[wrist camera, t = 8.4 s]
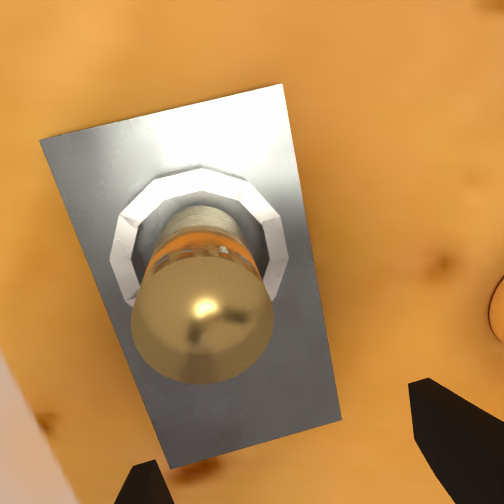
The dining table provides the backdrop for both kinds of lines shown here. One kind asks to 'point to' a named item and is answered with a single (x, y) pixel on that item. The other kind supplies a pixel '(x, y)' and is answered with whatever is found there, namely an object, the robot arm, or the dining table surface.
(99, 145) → the pipe plate
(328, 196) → the dining table surface
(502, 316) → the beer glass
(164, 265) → the brass fitting
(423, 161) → the dining table surface
